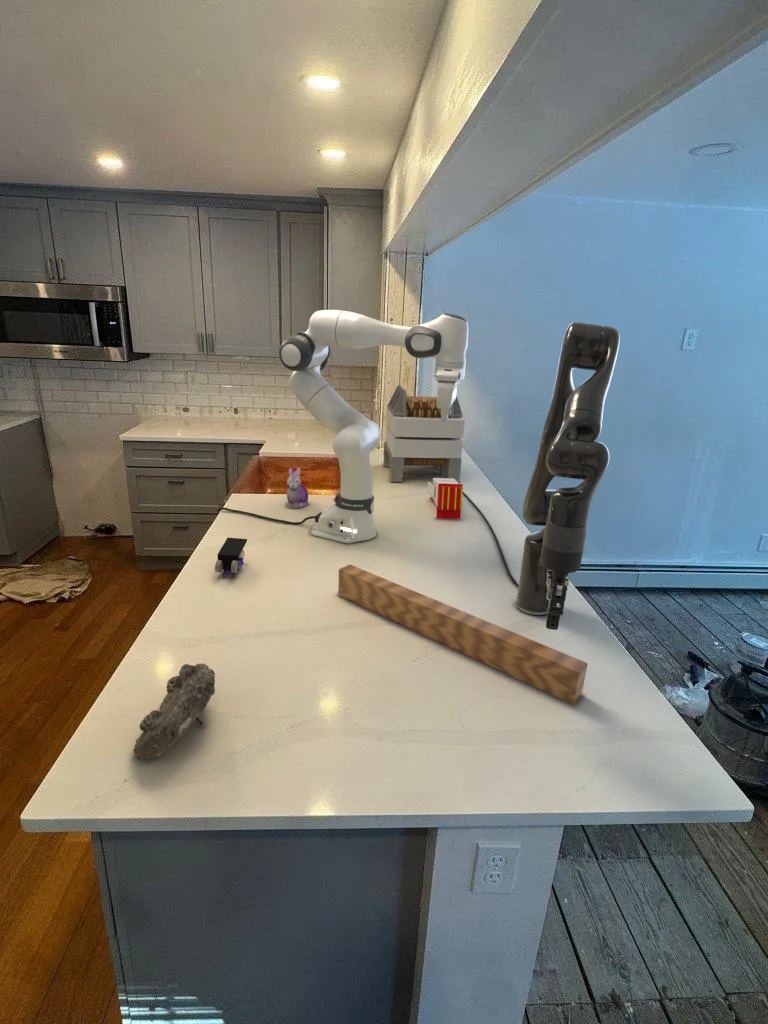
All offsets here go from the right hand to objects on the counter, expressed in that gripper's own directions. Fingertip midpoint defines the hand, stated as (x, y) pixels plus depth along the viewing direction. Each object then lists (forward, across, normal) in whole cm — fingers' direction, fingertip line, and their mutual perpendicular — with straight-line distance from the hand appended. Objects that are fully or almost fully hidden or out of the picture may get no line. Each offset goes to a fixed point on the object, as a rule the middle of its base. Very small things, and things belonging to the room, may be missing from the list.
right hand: (550, 617), depth 113 cm
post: (+18, +14, +22) cm, 32 cm away
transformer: (+20, +157, +55) cm, 167 cm away
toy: (+19, +110, +37) cm, 118 cm away
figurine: (+19, +92, +92) cm, 132 cm away
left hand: (-25, +66, +33) cm, 78 cm away
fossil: (+18, -30, +65) cm, 74 cm away
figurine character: (+18, +32, +88) cm, 95 cm away
